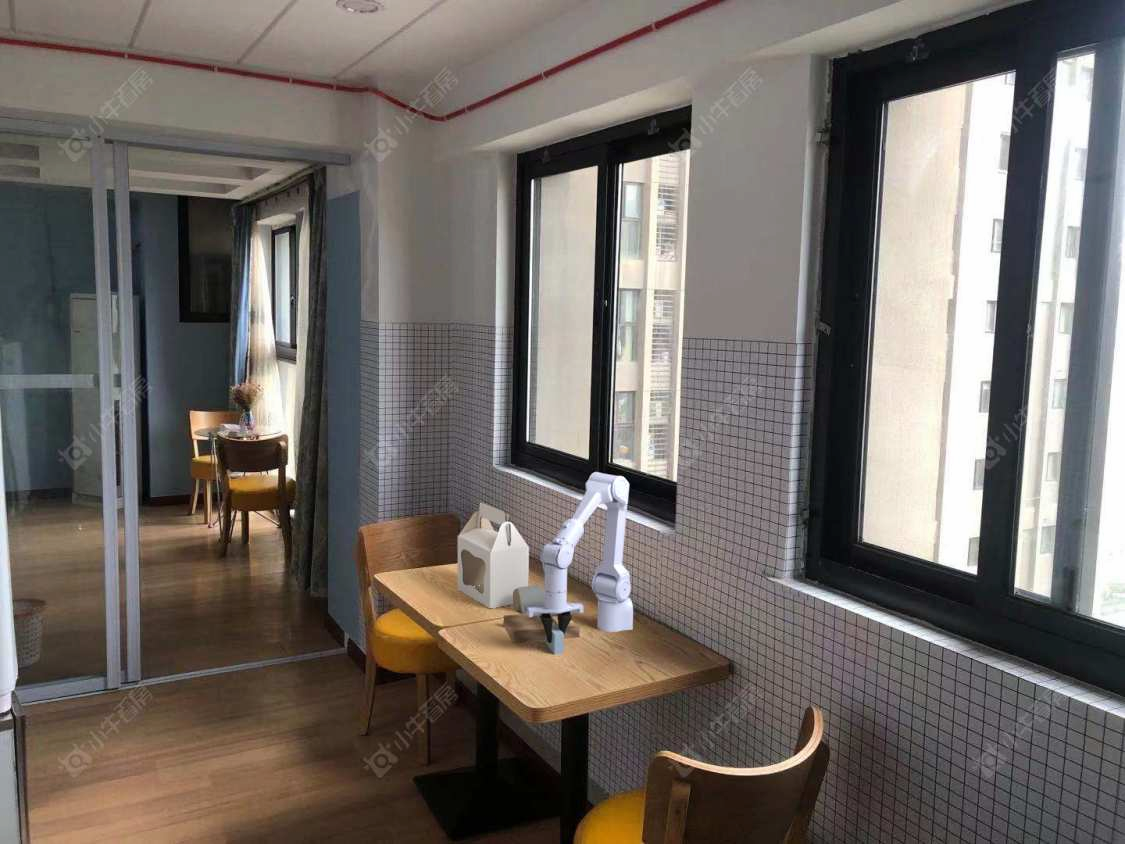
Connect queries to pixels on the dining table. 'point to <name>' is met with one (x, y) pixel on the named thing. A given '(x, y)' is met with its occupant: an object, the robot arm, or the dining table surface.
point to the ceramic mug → (528, 597)
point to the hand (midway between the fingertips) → (554, 641)
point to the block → (556, 640)
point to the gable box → (491, 558)
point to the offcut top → (555, 621)
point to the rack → (532, 628)
